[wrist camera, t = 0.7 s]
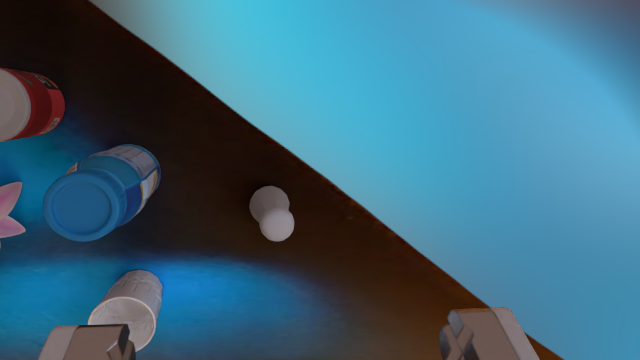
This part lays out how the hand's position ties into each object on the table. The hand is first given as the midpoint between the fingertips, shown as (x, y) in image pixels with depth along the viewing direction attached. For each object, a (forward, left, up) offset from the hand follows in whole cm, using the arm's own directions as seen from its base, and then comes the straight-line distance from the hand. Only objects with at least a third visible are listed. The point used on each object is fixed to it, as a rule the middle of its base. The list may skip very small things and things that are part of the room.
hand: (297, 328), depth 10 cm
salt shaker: (-10, -1, -51) cm, 52 cm away
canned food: (+12, +24, -51) cm, 58 cm away
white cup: (-17, +21, -51) cm, 58 cm away
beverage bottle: (0, +16, -51) cm, 54 cm away
